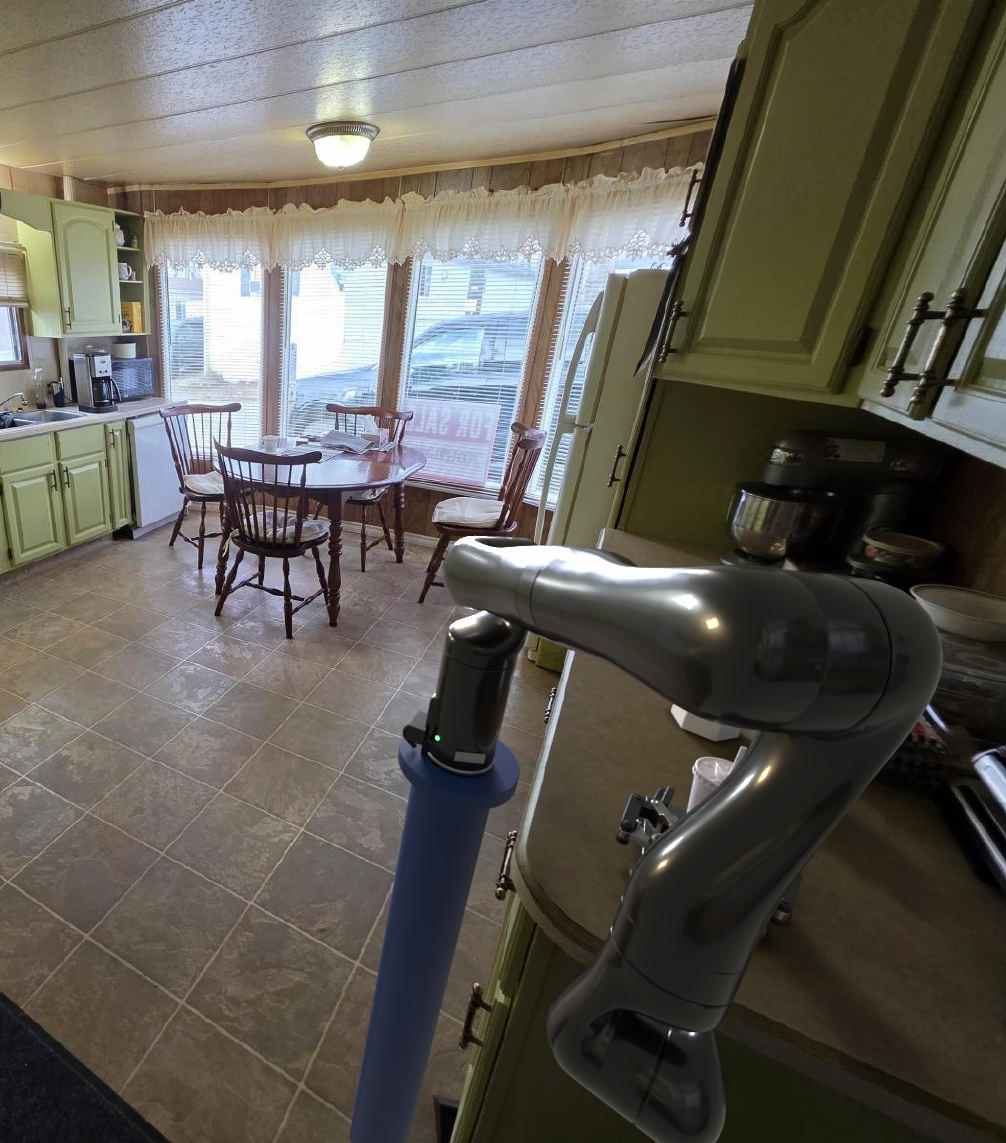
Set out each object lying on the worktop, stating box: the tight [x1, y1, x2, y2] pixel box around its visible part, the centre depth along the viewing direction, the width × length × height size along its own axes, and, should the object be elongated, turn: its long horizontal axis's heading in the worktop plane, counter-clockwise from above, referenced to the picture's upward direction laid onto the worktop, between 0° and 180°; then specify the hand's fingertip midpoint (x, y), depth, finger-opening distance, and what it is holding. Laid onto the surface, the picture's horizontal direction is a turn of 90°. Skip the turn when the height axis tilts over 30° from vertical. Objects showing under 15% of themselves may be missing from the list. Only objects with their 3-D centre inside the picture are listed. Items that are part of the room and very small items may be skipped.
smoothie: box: [686, 745, 748, 813], centre depth 71 cm, size 6×6×14 cm
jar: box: [670, 703, 742, 742], centre depth 94 cm, size 9×8×12 cm
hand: (715, 814), depth 65 cm, fingers open, 8 cm apart
